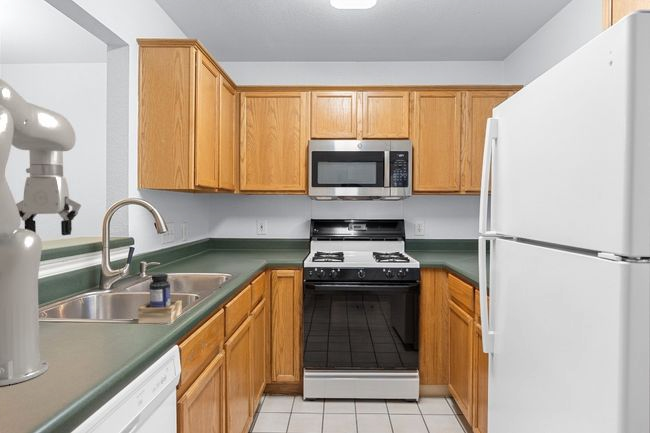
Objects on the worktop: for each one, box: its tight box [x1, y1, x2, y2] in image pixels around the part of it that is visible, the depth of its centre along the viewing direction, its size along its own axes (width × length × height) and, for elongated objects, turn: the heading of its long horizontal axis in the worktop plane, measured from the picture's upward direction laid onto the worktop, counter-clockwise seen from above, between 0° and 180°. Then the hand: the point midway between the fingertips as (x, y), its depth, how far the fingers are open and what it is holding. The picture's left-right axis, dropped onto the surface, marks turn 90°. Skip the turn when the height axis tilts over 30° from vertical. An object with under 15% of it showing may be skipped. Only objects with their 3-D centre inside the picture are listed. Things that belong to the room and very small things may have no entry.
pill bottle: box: [149, 273, 172, 308], centre depth 130 cm, size 6×6×11 cm
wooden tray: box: [137, 300, 183, 324], centre depth 131 cm, size 10×10×4 cm
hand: (48, 235), depth 112 cm, fingers open, 9 cm apart
